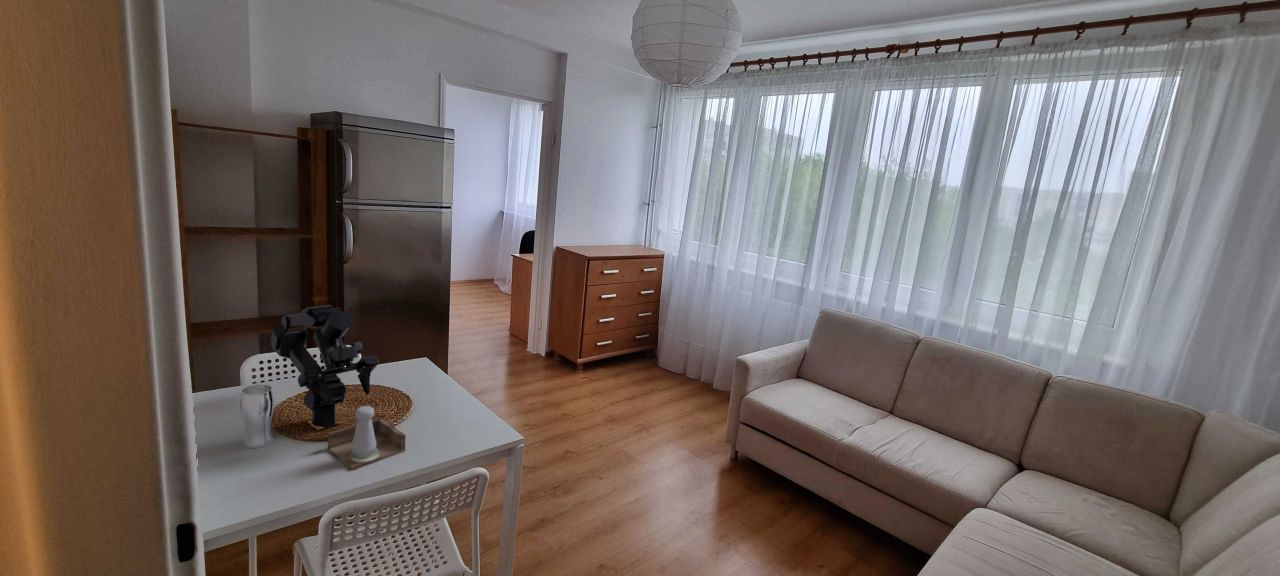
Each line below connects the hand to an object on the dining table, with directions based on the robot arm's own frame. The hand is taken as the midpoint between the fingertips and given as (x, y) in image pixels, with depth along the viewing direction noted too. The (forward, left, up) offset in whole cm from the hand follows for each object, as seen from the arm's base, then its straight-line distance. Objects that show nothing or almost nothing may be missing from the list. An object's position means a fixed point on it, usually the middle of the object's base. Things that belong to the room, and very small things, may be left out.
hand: (350, 398), depth 139 cm
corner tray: (+5, +2, -14) cm, 15 cm away
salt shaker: (+8, 0, -13) cm, 15 cm away
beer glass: (-15, -16, -14) cm, 26 cm away
